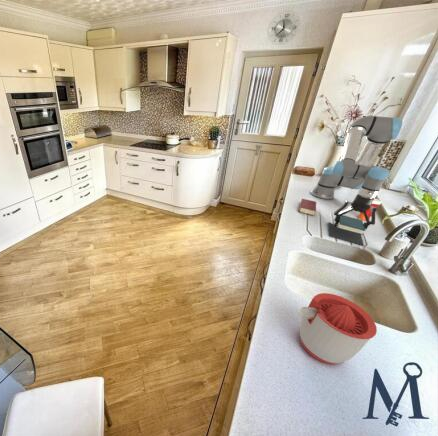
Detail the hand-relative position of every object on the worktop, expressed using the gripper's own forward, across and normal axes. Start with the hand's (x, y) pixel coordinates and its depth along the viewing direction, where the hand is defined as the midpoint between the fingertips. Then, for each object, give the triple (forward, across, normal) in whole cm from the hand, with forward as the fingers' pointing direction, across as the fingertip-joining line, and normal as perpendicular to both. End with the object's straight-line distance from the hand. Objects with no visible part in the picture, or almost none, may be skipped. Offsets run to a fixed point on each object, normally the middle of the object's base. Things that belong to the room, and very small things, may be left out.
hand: (347, 229), depth 138 cm
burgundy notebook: (+3, -21, +23) cm, 31 cm away
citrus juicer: (+3, -13, -93) cm, 94 cm away
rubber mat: (+3, 0, 0) cm, 3 cm away
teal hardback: (-2, 0, 0) cm, 2 cm away
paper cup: (+3, +12, +32) cm, 34 cm away
